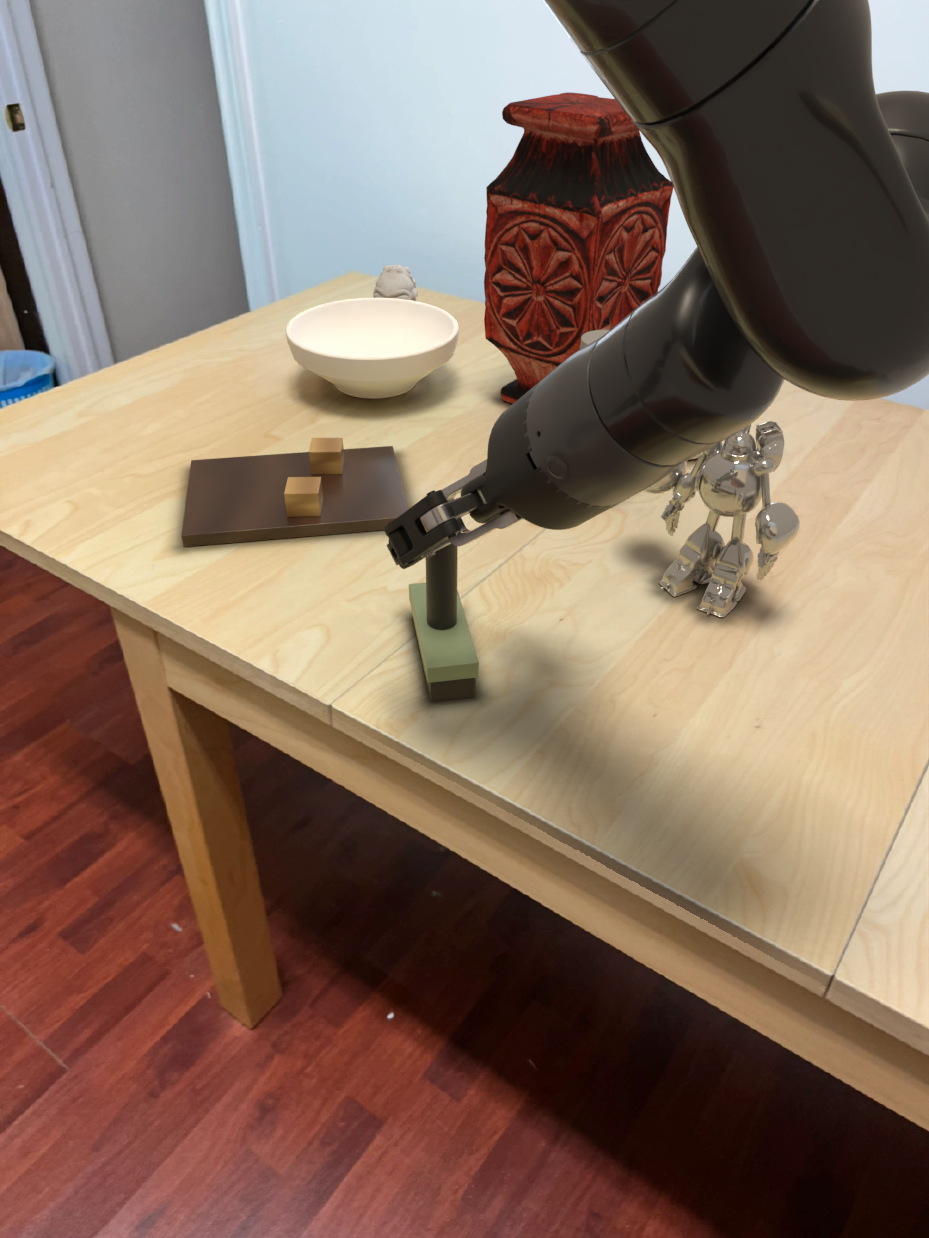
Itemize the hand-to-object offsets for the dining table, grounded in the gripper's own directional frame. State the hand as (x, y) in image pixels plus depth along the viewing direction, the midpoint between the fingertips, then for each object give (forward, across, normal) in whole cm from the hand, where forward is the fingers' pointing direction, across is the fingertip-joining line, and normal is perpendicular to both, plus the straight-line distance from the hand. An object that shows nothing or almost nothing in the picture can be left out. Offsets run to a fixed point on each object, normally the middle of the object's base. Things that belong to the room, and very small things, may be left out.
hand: (449, 531), depth 60 cm
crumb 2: (+28, -8, -13) cm, 32 cm away
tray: (+28, -4, -12) cm, 30 cm away
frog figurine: (+51, -40, -35) cm, 74 cm away
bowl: (+40, -25, -23) cm, 52 cm away
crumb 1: (+24, -2, -10) cm, 26 cm away
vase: (+28, -40, -11) cm, 50 cm away
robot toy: (+5, -22, +12) cm, 25 cm away
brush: (+9, 0, +7) cm, 11 cm away
